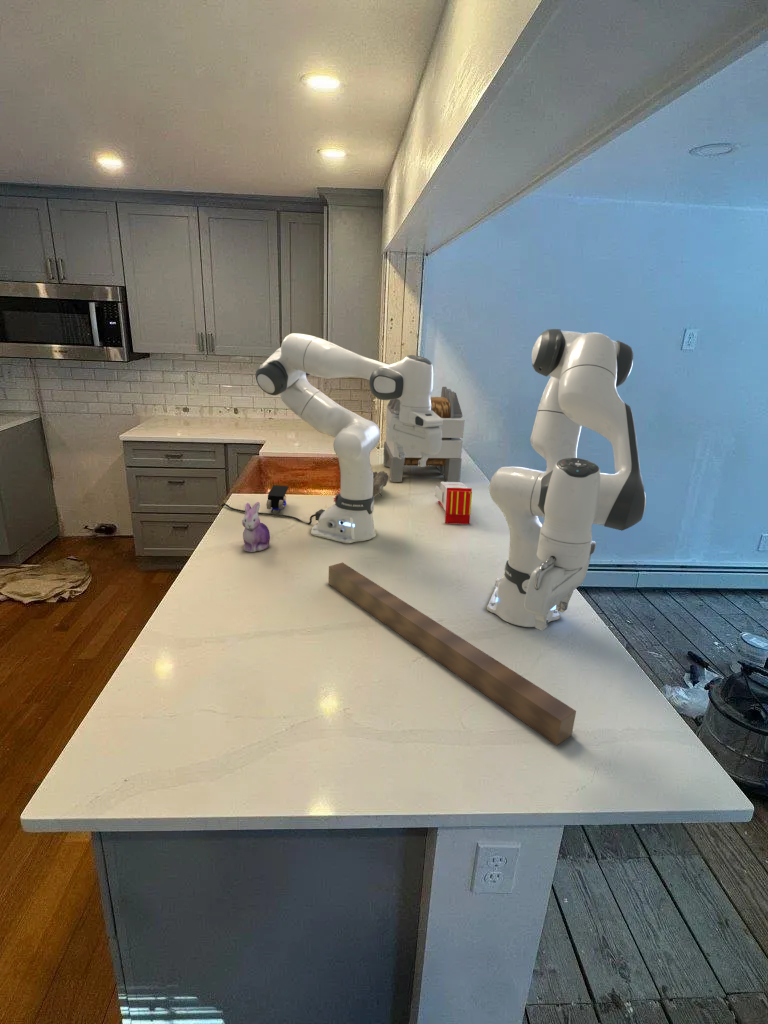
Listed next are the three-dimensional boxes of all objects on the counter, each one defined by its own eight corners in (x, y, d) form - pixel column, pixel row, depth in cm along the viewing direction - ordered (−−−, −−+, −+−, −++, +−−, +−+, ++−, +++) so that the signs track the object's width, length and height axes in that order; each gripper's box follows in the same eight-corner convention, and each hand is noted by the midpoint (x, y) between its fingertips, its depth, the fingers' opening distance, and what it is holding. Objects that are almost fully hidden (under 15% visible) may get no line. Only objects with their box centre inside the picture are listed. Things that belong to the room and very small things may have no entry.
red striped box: (463, 477, 236) (476, 489, 206) (461, 509, 239) (474, 525, 209) (433, 476, 235) (443, 488, 206) (432, 508, 238) (441, 524, 209)
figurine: (246, 555, 177) (244, 510, 172) (238, 543, 186) (236, 499, 181) (275, 550, 181) (274, 506, 176) (266, 539, 190) (265, 496, 185)
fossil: (357, 477, 248) (384, 458, 243) (370, 494, 251) (397, 476, 246) (349, 498, 228) (379, 478, 223) (364, 515, 231) (393, 496, 226)
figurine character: (284, 518, 213) (289, 501, 226) (283, 500, 209) (288, 484, 223) (266, 517, 212) (272, 500, 226) (265, 499, 209) (271, 483, 223)
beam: (328, 584, 162) (328, 566, 160) (342, 579, 164) (342, 562, 163) (556, 745, 105) (561, 721, 103) (571, 735, 108) (576, 710, 106)
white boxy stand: (382, 463, 289) (386, 382, 275) (445, 464, 293) (451, 384, 279) (390, 482, 257) (394, 392, 243) (460, 483, 261) (468, 394, 247)
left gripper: (384, 409, 166) (381, 455, 171) (429, 422, 151) (425, 472, 156) (400, 408, 170) (397, 453, 175) (447, 421, 155) (442, 469, 160)
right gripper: (557, 571, 92) (544, 646, 96) (599, 541, 107) (586, 606, 111) (521, 560, 95) (510, 633, 100) (567, 532, 111) (556, 596, 115)
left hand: (411, 462), depth 165 cm, fingers open, 8 cm apart
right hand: (551, 618), depth 106 cm, fingers open, 8 cm apart
